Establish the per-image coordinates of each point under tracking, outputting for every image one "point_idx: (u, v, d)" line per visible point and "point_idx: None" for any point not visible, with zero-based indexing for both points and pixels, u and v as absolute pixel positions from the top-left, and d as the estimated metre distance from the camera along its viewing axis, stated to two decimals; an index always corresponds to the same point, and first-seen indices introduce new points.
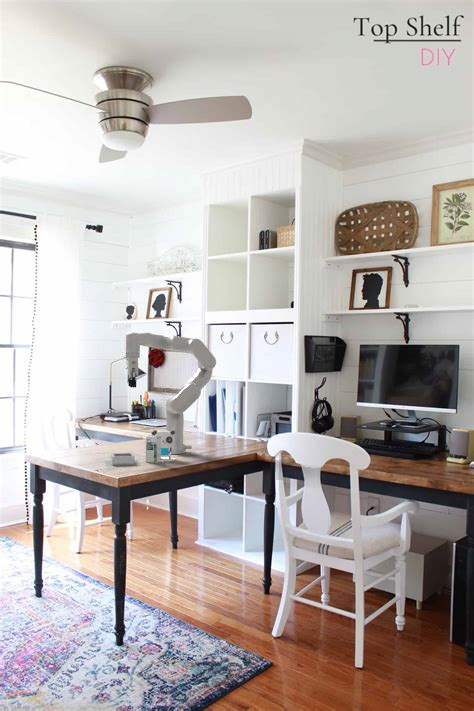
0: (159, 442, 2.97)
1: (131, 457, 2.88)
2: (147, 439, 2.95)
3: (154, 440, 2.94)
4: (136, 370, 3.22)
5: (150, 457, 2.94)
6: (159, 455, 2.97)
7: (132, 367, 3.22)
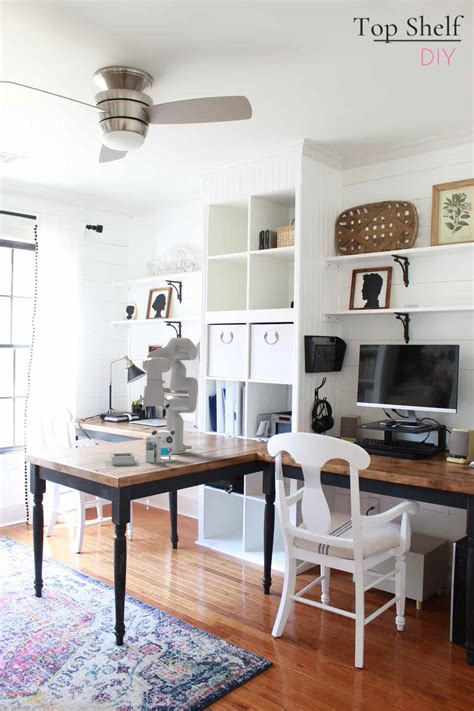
0: (159, 442, 2.97)
1: (131, 457, 2.88)
2: (147, 439, 2.95)
3: (154, 440, 2.94)
4: None
5: (150, 457, 2.94)
6: (159, 455, 2.97)
7: None
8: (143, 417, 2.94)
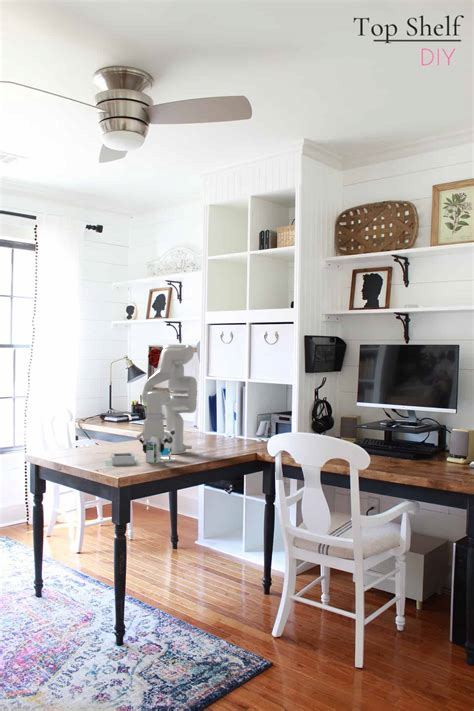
0: (159, 442, 2.97)
1: (131, 457, 2.88)
2: None
3: (154, 440, 2.93)
4: None
5: (150, 457, 2.94)
6: (159, 455, 2.97)
7: None
8: (144, 452, 2.95)
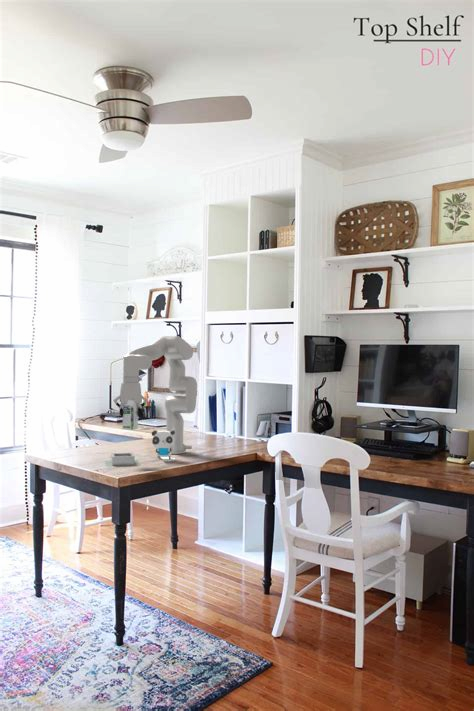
0: (136, 406, 2.93)
1: (131, 457, 2.88)
2: None
3: (131, 403, 2.90)
4: None
5: (127, 421, 2.90)
6: (136, 419, 2.93)
7: None
8: (121, 416, 2.91)
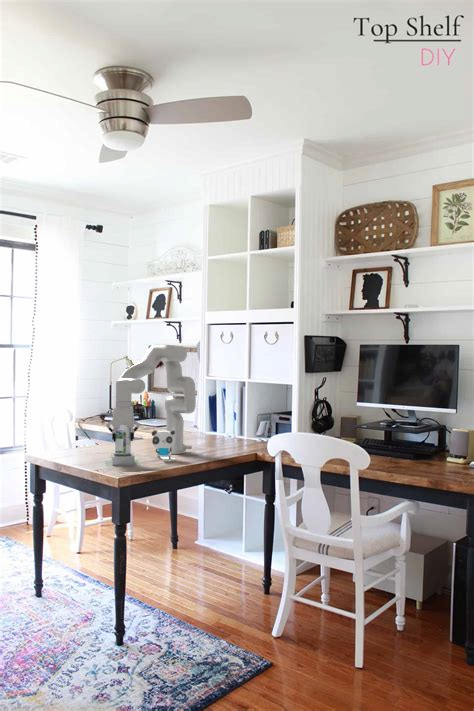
0: (129, 430, 2.92)
1: (131, 457, 2.88)
2: None
3: (123, 428, 2.89)
4: None
5: (119, 446, 2.89)
6: (129, 444, 2.92)
7: (133, 418, 2.93)
8: None
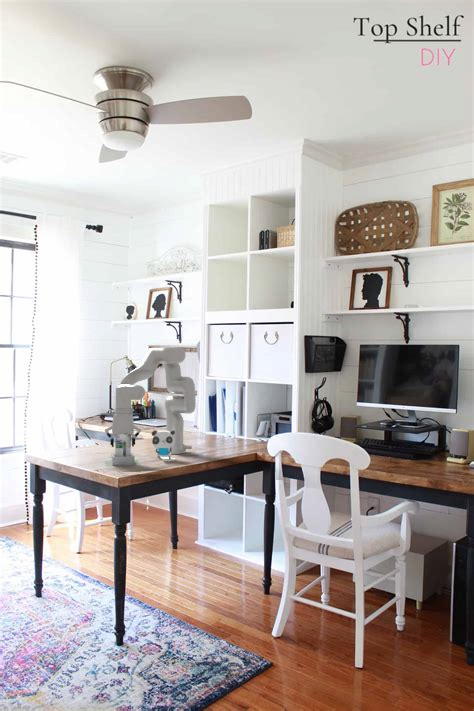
0: (129, 440, 2.92)
1: (131, 457, 2.88)
2: (116, 437, 2.90)
3: (123, 438, 2.89)
4: None
5: (119, 455, 2.89)
6: (129, 453, 2.92)
7: (133, 424, 2.93)
8: (112, 446, 2.90)
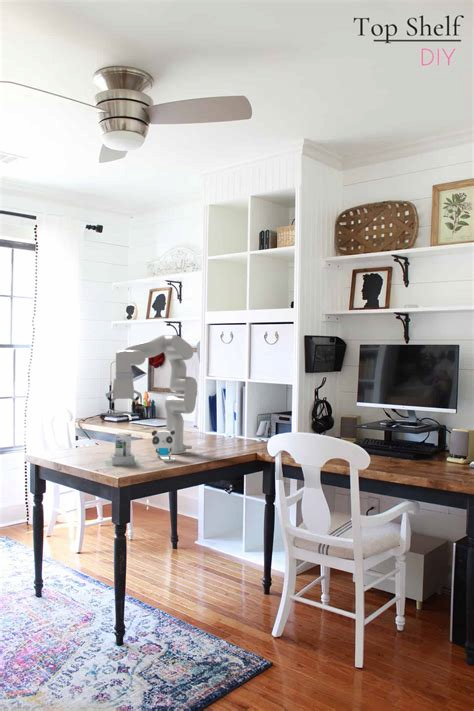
0: (129, 440, 2.92)
1: (131, 457, 2.88)
2: (116, 437, 2.90)
3: (123, 438, 2.89)
4: None
5: (119, 455, 2.89)
6: (129, 453, 2.92)
7: (133, 388, 2.97)
8: None
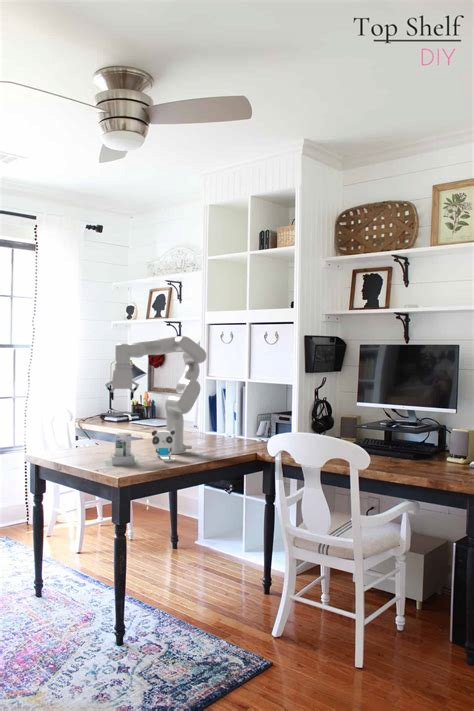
0: (129, 440, 2.92)
1: (131, 457, 2.88)
2: (116, 437, 2.90)
3: (123, 438, 2.89)
4: None
5: (119, 455, 2.89)
6: (129, 453, 2.92)
7: None
8: (112, 399, 3.12)
